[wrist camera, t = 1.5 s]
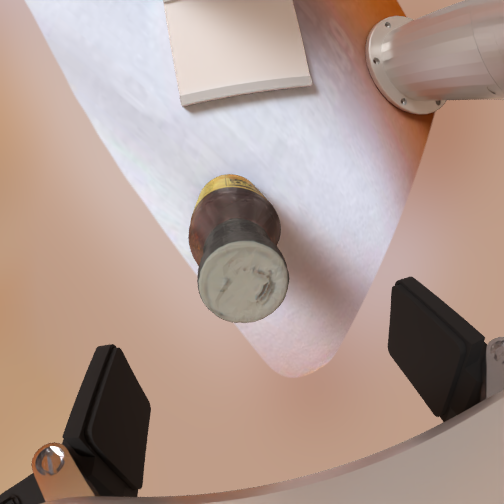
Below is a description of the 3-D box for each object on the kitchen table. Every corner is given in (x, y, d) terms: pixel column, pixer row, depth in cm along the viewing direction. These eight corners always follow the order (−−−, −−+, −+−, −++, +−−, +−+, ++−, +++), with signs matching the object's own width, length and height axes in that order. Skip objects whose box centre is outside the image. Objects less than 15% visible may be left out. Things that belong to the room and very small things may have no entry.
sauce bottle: (269, 208, 33) (345, 302, 14) (221, 242, 33) (239, 371, 15) (233, 157, 30) (270, 189, 12) (183, 194, 31) (147, 279, 13)
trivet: (285, -17, 24) (287, -21, 23) (309, 86, 29) (312, 84, 28) (163, -2, 23) (162, -6, 22) (182, 106, 28) (181, 105, 27)
